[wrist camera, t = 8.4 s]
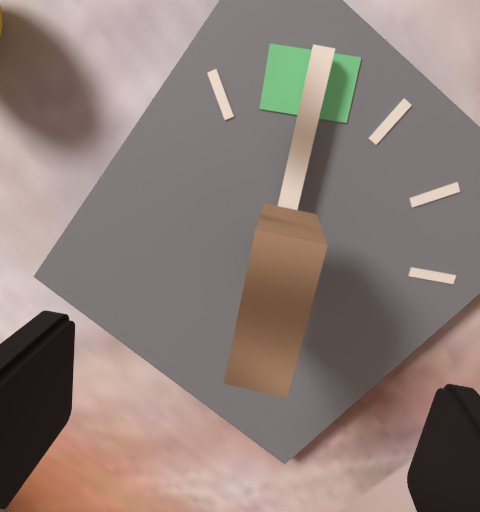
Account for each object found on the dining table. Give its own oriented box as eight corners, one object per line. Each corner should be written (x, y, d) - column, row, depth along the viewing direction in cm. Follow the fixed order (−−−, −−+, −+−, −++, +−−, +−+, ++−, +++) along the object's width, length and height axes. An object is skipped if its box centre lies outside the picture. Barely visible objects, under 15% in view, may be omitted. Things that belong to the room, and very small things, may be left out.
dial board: (284, 447, 29) (284, 465, 27) (47, 268, 27) (32, 277, 25) (553, 206, 22) (573, 212, 21) (268, -56, 20) (266, -71, 19)
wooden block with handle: (286, 302, 24) (287, 397, 15) (245, 293, 24) (223, 383, 15) (347, 55, 20) (392, 2, 11) (297, 46, 20) (305, -13, 11)
